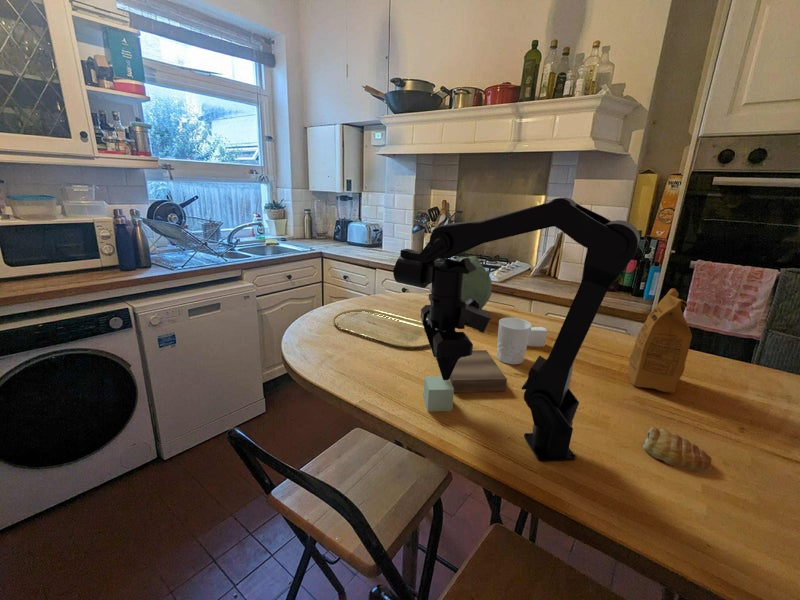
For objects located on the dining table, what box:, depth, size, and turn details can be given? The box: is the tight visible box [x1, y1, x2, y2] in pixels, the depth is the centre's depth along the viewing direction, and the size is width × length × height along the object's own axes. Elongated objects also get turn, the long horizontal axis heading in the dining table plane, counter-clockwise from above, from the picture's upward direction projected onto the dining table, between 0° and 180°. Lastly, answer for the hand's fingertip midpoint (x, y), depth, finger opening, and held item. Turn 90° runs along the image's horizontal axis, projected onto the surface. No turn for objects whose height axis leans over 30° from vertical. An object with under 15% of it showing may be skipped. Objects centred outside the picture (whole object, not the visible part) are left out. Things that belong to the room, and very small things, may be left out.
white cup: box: [496, 317, 533, 366], centre depth 95 cm, size 8×8×10 cm
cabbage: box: [451, 255, 492, 309], centre depth 125 cm, size 16×19×20 cm
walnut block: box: [449, 349, 508, 393], centre depth 87 cm, size 14×12×3 cm
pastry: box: [642, 426, 713, 473], centre depth 64 cm, size 9×7×4 cm
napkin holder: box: [527, 326, 548, 347], centre depth 105 cm, size 15×11×6 cm
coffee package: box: [627, 288, 693, 394], centre depth 85 cm, size 10×12×22 cm
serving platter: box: [332, 308, 430, 350], centre depth 112 cm, size 19×35×2 cm, turn 58°
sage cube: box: [423, 375, 455, 412], centre depth 75 cm, size 5×5×5 cm
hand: (440, 367), depth 73 cm, fingers open, 9 cm apart
